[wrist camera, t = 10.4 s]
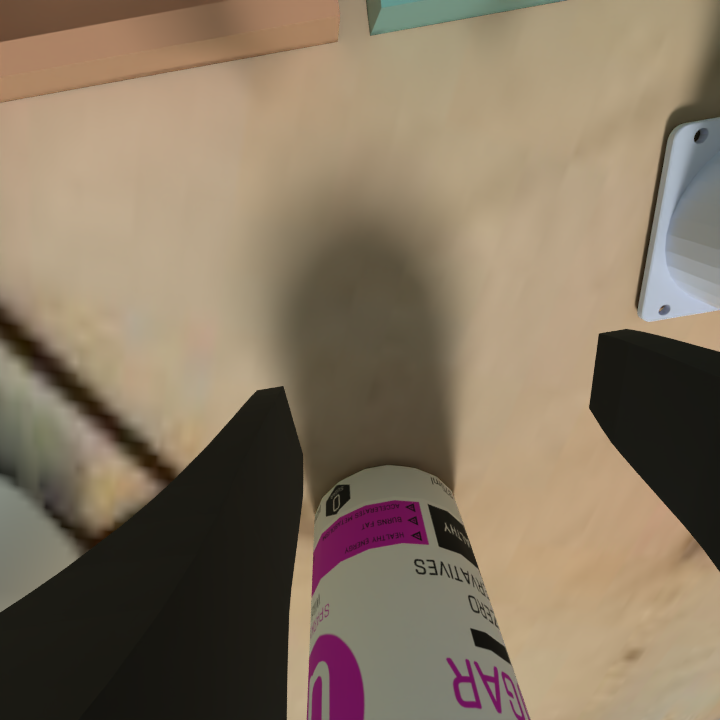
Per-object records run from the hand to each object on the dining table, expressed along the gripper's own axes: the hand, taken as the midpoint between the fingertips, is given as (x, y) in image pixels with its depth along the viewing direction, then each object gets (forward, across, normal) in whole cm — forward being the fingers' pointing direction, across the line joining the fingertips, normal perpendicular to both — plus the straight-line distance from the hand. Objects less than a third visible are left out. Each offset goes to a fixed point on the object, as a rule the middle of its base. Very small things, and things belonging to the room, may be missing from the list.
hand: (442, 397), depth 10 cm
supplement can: (+10, +2, +14) cm, 17 cm away
